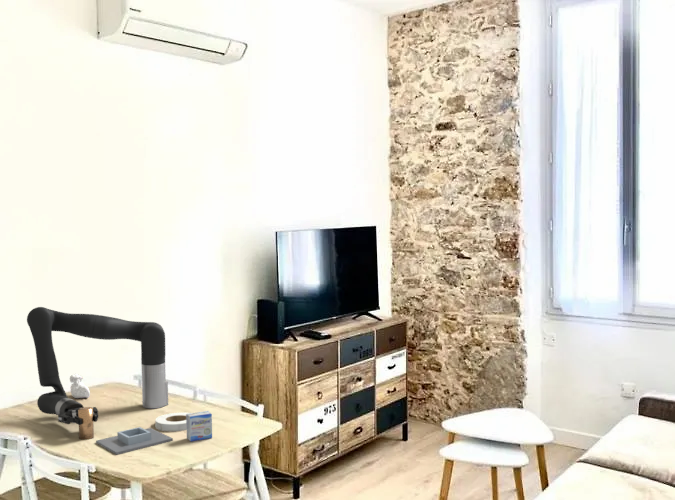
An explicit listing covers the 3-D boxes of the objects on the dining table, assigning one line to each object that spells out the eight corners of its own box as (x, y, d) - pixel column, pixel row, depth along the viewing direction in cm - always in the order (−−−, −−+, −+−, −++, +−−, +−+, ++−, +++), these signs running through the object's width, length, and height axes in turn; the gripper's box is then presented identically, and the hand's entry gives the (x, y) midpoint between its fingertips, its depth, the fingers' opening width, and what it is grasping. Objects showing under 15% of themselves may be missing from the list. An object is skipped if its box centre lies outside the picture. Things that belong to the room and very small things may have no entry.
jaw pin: (90, 434, 245) (89, 406, 245) (96, 437, 242) (95, 409, 241) (77, 437, 242) (76, 408, 242) (82, 440, 239) (81, 411, 238)
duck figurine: (72, 400, 299) (55, 382, 293) (85, 386, 303) (69, 369, 297) (86, 405, 291) (69, 387, 285) (99, 391, 295) (83, 373, 289)
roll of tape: (170, 417, 265) (170, 410, 265) (206, 421, 260) (206, 413, 260) (146, 430, 251) (146, 422, 251) (183, 434, 246) (183, 426, 245)
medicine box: (189, 442, 236) (189, 416, 236) (186, 438, 240) (185, 413, 240) (212, 438, 240) (212, 413, 239) (208, 434, 244) (208, 410, 243)
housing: (150, 430, 249) (150, 420, 249) (172, 440, 238) (172, 431, 237) (96, 442, 236) (95, 433, 236) (116, 454, 224) (116, 444, 224)
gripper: (48, 403, 248) (67, 413, 235) (88, 396, 257) (108, 405, 245) (49, 424, 248) (68, 435, 235) (89, 416, 258) (109, 426, 245)
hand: (88, 420), depth 240 cm, fingers closed on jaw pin, 4 cm apart
